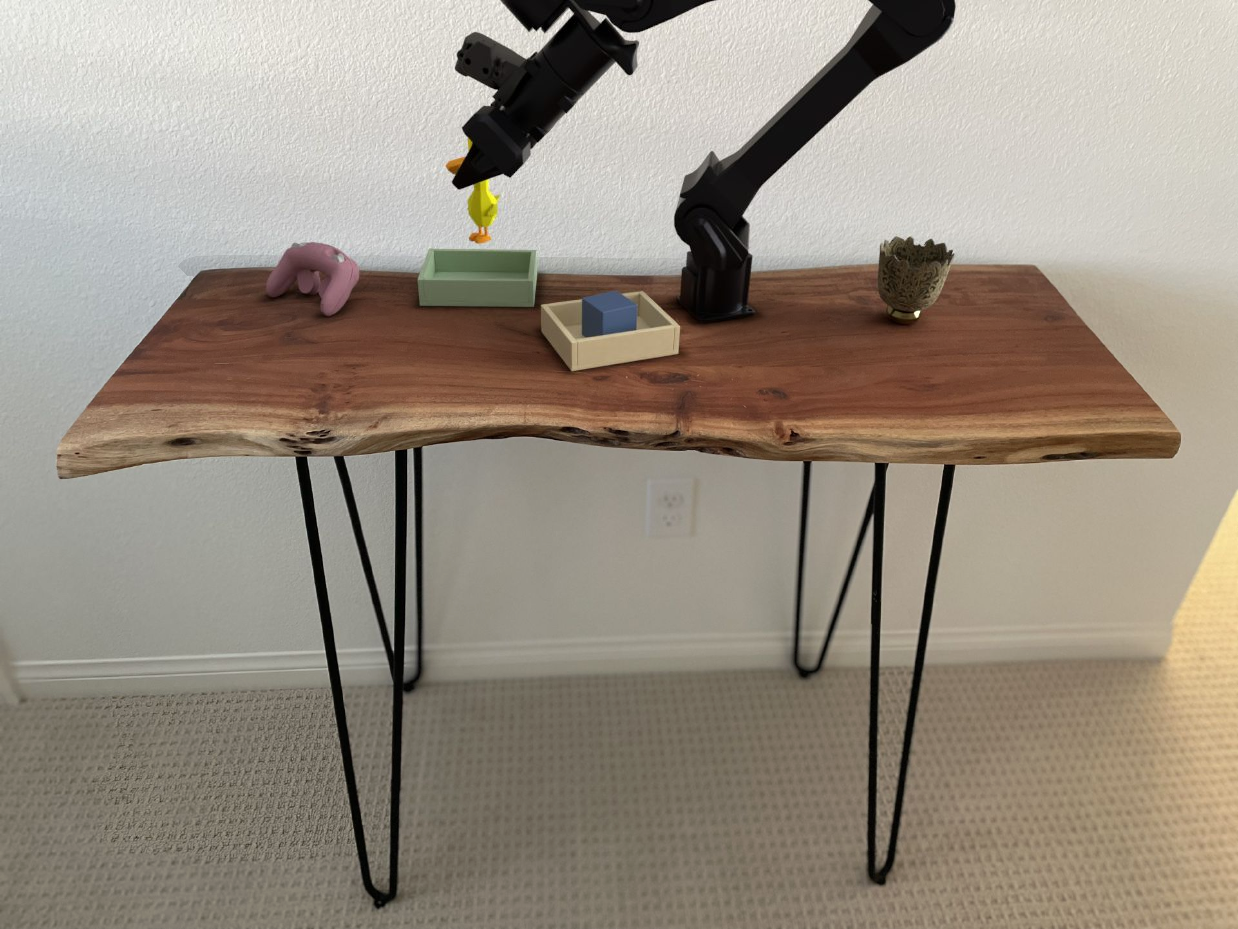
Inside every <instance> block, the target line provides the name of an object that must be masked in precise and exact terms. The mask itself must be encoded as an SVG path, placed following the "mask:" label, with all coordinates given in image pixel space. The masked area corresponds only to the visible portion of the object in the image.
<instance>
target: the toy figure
mask: <svg viewBox="0 0 1238 929" xmlns="http://www.w3.org/2000/svg"><path fill="white" fill-rule="evenodd" d="M466 141H467V152H468V151H469V150H470V148H471V146H472V141H471V140H470V139H469V138H468V137H467V140H466ZM465 157H466V156H461V157H459V158H455V159H451V160H449V161H448V162H447V163H446V164H444V165H445V168H446V170H447V171H448V172H449V173H451V174H452V175H454V176H455V175H456V173H457V171H458V169H459V168H460V166H461V164H462V162H463V160H464V159H465ZM489 184H490V179H487V180H485V181H482V182H479V183H477V184H474V185H472V186H473V191H472V192H471V193H470V195H469V197H468V198H467V211H468V212H467V213H468V216H469V217H470V219H471V220H472V222H474V224H475V226H477V227H478V232H472V233H471V234H470V235H469V237H468V240H469V241H470V242H474V243H475V244H478V245H479V244H484V243H488V242H490V241H492V239H493V238H492V236H491V235H489V229H488V228H489V227H491V226H492V225H493V223H494V221H495V219H496V218H497V216H498V211H499V210H498V208H499V204H498V202H499V200H500V197H501V194H497V195H493V193H492V192H491V191H490V189H489V186H490V185H489ZM483 229H484V233H483Z"/></svg>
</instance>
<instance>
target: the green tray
mask: <svg viewBox="0 0 1238 929" xmlns="http://www.w3.org/2000/svg"><path fill="white" fill-rule="evenodd" d="M427 250H428V251H427V253H426V256H425V258H424V262H423V264H422V266H421V269H420V272H419V274H418V277H417V279H416V280H417V289H418V300H419V306H420V307H490V308H491V307H492V308H493V307H494V308H496V307H498V308H499V307H501V308H502V307H503V308H504V307H507V308H509V307H510V308H511V307H512V308H534V307H535V300H536V290H537V279H538V254H537V253H538V252H537V249H495V248H494V249H493V248H492V249H491V248H489V249H488V248H487V249H486V248H483V249H482V248H481V249H479V248H428V249H427Z"/></svg>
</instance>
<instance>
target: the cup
mask: <svg viewBox="0 0 1238 929" xmlns="http://www.w3.org/2000/svg"><path fill="white" fill-rule="evenodd" d="M953 251H954V250H953V249H949V250H948V247H947V245H946V243H945V242H940V243H935V241H934V240H933V239H932V238H929V239H928V240H926V241H925V242H924V244H923V245H921V244H920V243H918V244H915V238H914V237H912V236H908V237H907V238H906V239H904V238H903V237H900V236H897V235H895V236H894V237H893V238H892V239H891V240H890V241H889V240H887V239H884V241H883V243H882V242H880V244H879V254H878V255H879V256H878V268H877V289H878V295H879V296H880V298H881V300H882V301H883V303H885V305H886V306H887V307H886V308H885V315H886V317H887V318H888V319H889V320H890V321H891V322H894V323H896V324H899V325H900V324H901V325H912V324H915V323H917V322H918V321H919V320H920V318H921V317H922V311H924V310H926V309H929V307H931V306H932V305H934V303H935V302H936V301H937V300H938V298H939V296H940V294H941V292H942V290H943V288H944V285H945V282H946V280H947V277H948V274H949V272H950V268H951V267H952V266H951V265H952V263H953V261H954V258H955V253H953Z"/></svg>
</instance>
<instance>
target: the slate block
mask: <svg viewBox="0 0 1238 929" xmlns="http://www.w3.org/2000/svg"><path fill="white" fill-rule="evenodd" d="M622 294H623V293H620V292H619V291H618V290H612V291H607V292H603V293H599V294H594V295H590V296H589V295H588V296H585V297H582V298H581V299H582V335H583V336H584V337H586V338H588V337H595V336H602V335H608V334H615V333H621V332H628V331H635V330H636V327H637V304H636V303H634V302H633V301H631V300H630V299H628V298H627V297H625V296H624V295H622Z"/></svg>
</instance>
